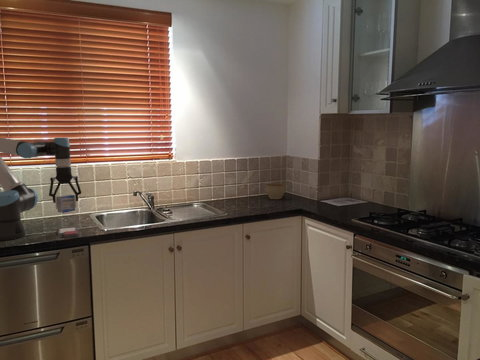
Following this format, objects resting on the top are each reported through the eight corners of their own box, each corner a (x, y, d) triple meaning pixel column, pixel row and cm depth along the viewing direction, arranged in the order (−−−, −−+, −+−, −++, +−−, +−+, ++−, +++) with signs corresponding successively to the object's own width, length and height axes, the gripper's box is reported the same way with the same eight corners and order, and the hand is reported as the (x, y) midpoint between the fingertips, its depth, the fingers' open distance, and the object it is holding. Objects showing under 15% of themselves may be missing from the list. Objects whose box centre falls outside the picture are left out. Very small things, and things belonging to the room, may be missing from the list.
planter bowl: (286, 196, 325) (286, 183, 323) (285, 200, 309) (285, 186, 307) (265, 196, 327) (265, 182, 325) (264, 200, 311) (264, 185, 310)
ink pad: (63, 237, 214) (63, 234, 214) (64, 234, 220) (64, 231, 220) (78, 236, 216) (78, 233, 216) (78, 232, 223) (78, 230, 223)
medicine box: (62, 213, 221) (61, 197, 220) (57, 212, 224) (56, 196, 223) (75, 210, 228) (74, 195, 227) (70, 209, 230) (69, 194, 229)
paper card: (57, 234, 220) (57, 233, 220) (58, 228, 232) (58, 227, 232) (77, 232, 223) (76, 231, 223) (77, 227, 235) (77, 226, 235)
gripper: (40, 168, 215) (43, 210, 218) (84, 166, 223) (87, 207, 226) (41, 166, 222) (45, 208, 225) (84, 164, 230) (87, 205, 233)
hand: (66, 207), depth 226 cm, fingers closed on medicine box, 9 cm apart
